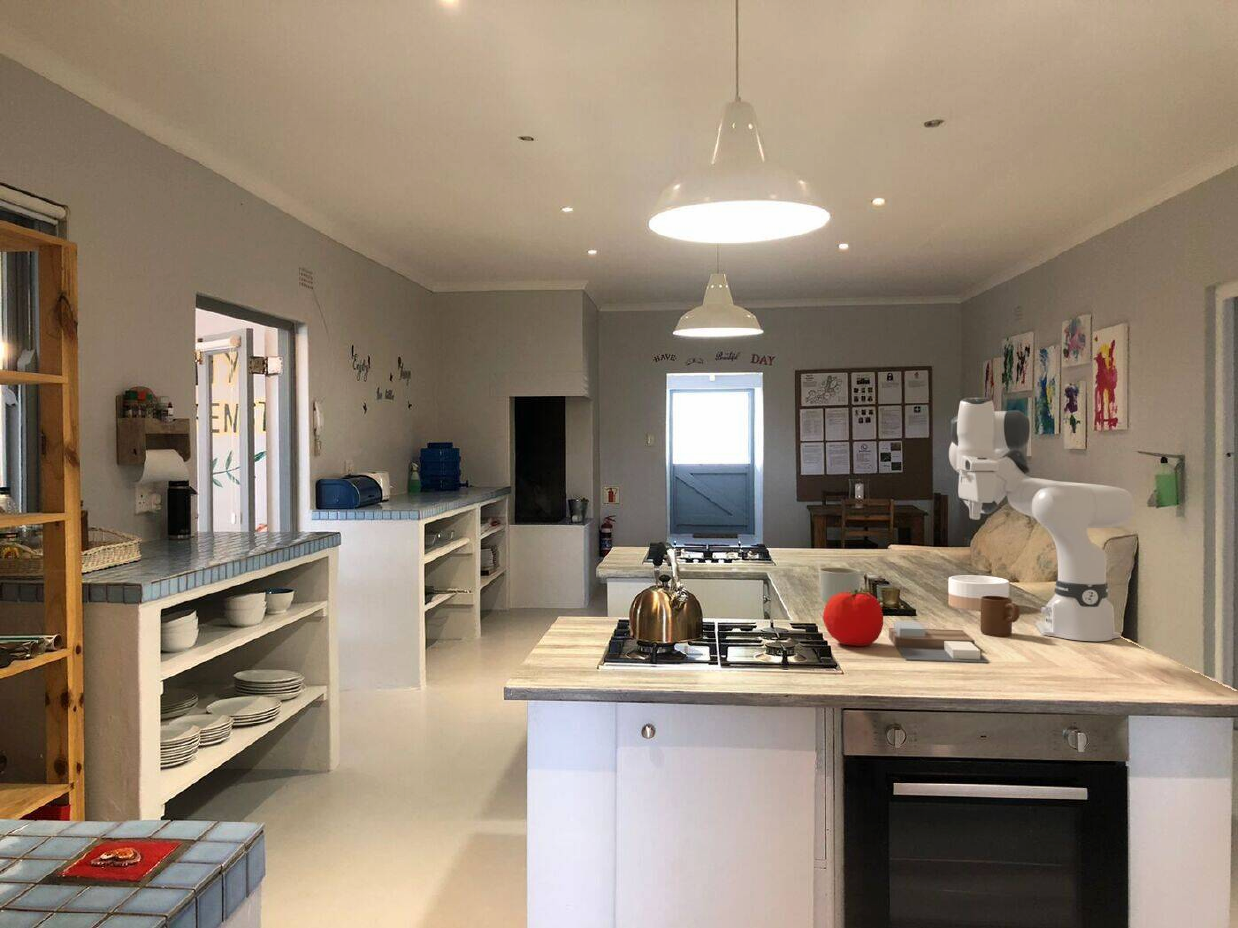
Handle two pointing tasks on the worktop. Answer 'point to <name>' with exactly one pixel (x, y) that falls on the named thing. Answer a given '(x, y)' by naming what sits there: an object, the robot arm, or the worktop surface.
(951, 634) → the brown wooden flat board
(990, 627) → the mug
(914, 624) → the light gray block
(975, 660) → the mat
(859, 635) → the tomato
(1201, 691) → the worktop surface
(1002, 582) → the bowl
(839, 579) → the planter
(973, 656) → the ivory block
